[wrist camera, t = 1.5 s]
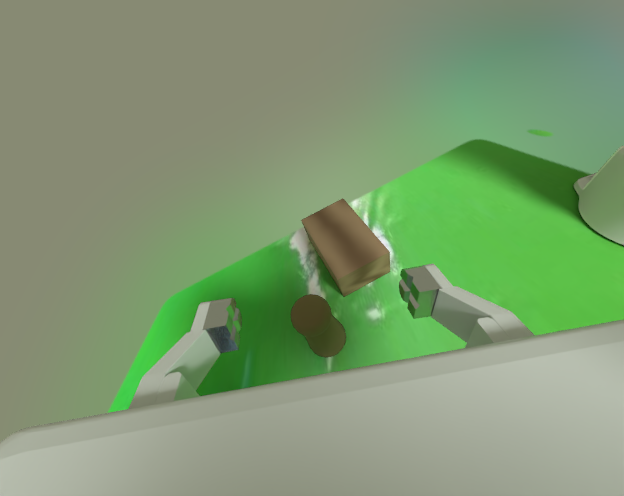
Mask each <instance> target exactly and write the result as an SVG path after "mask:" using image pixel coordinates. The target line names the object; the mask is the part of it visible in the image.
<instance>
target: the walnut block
mask: <svg viewBox="0 0 624 496" xmlns="http://www.w3.org/2000/svg"><path fill="white" fill-rule="evenodd" d="M302 223H303V225H304V228H305V230H306V232H307V234H308V237H309V239H310V241H311V242H312V244H313V246H314V247H315V249H316V251H317V252H318V254H319V256H320V258H321V259H322V261H323V263H324V264H325V266H326V268H327V269H328V271H329V273H330V274H331V276H332V278H333V279H334V281H335V283H336V284H337V286H338V288H339V289H340V291H341V293H342V295H343V296H344V297H345V296H347V295H348V294H350V293H352V292H354V291H356V290H358V289H359V288H361V287H363V286H365V285H367V284H369V283H370V282H372V281H374V280H376V279H378V278H380V277H381V276H383V275H385V274H387V273H389V272H390V252H389V251H388V250H387V248H386V247H385V246H384V245H383V244H382V243H381V242H380V240H379V239H378V238H377V237H376V236H375V235H374V233H373V232H372V231H371V230H370V229H369V228H368V227H367V225H366V224H365V223H364V222H363V221H362V220H361V218H360V217H359V216H358V215H357V214H356V213H355V212H354V210H353V209H352V208H351V207H350V206H349V205H348V203H347V202H346V201H345V200H344V199H341V200H339V201H337V202H335V203H333V204H331V205H330V206H327V207H326V208H324V209H322V210H320V211H318V212H316V213H314V214H312V215H310V216H308V217H306V218H304V219H302Z"/></svg>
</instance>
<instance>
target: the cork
mask: <svg viewBox="0 0 624 496" xmlns="http://www.w3.org/2000/svg"><path fill="white" fill-rule="evenodd" d="M291 321H292V324H293V326H294V328H295V329H296V330H297V331H298V332H299V333H301V334H302V335H304V336H305V337H306V339H307V341H308V343H309V346H310V348H311V349H312V351H313V352H314V353H315V354H317V355H319V356H321V357H331V356H334V355H336V354H338V353H339V352H340V351H341V349H342V348H343V346H344V344H345V340H346V333H345V329H344V328H343V326H342V324H341V323H340V322H339V321H337V320H336V319H335V318H334V317H333V316H332V314H331V308H330V306H329V304H328V303H327V301H326V300H325V299H323V298H322V297H320V296H318V295H313V294H310V295H305V296H303V297H301V298H299V299H298V300H297V301H296V302H295V304H294V306H293V307H292V310H291Z"/></svg>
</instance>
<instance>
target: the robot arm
mask: <svg viewBox="0 0 624 496" xmlns="http://www.w3.org/2000/svg"><path fill="white" fill-rule="evenodd" d="M574 189H575V190H576V192H577V194H578V195H579V212H580V214H581V216H582V218H583V219H584V220H585V222H586V223H587V224H588V225H589V226H590V227H591V228H593V229H594V230H595V231H597V232H598V233H600V234H601V235H603V236H605V237H606V238H608V239H610V240H612V241H615V242H617V243H619V244H622V245H624V146H622V147H620V148H619V149H618V150H617V151H616V152H615V153H614V154H613V155H612V156H611V157H610V158H609V159H608V161H607V162H606V163H605V164H604V165H603V166H602V167H601V169H600V170H599V171H598V172H597V173H595V174H592V175H589V176H586V177H583V178H580V179H578V180H577V181H576V182H575V184H574ZM400 276H401V277H402V280H401V281H400V282H399V291H400V294H401V297H402V299H403V301H405V302H407V303H408V310H409V311H410V313H411V315H412V317H413V318H414V319H416V318H422V317H429V316H431V317H432V318H433V319H435V320H436V321H438V322H439V323H440V324H442V325H443V326H445V327H446V328H447V329H449V330H450V331H451V332H453V333H454V334H456V335H457V336H458V337H460V338H461V339H463V340H464V341H465V342H467V344H466V347H465V348H463V349H458V350H452V351H447V352H441V353H436V354H430V355H425V356H419V357H414V358H408V359H403V360H397V361H392V362H386V363H381V364H375V365H370V366H365V367H359V368H354V369H348V370H343V371H337V372H331V373H326V374H320V375H315V376H309V377H304V378H298V379H293V380H287V381H282V382H276V383H271V384H265V385H260V386H254V387H249V388H243V389H238V390H232V391H227V392H221V393H216V394H210V395H205V396H200V395H199V394H198V393H197V392H196V390H197V388H198V387H199V385H200V384H201V382H202V381H203V379H204V378H205V376H206V375H207V373H208V372H209V371H210V369H211V368H212V366H213V365H214V363H215V362H216V360H217V359H218V357H219V356H220V353H224V352H229V351H234V350H239V343H240V335H239V333H238V332H239V331H240V330H241V327H242V317H241V313H240V310H239V309H238V308H236V301H235V299H234V298H229V299H222V300H215V301H210V302H202V303H200V304H199V306H198V309H197V312H196V315H195V318H194V321H193V324H192V327H191V331H190V332H188V333H186V334H185V335H184V336H183V337H182V338H181V339H180V340H179V341H178V342H177V343H176V344H175V345H174V346H173V347H172V348H171V349H170V350H169V351H168V352H167V353H166V354H165V355H164V356H163V357H162V358H161V359H160V360H159V361H158V362H157V363H156V364H155V365H154V366H153V367H152V368H151V369H150V370H149V371H148V372H147V373H146V374H145V375H144V376H143V377H142V379H141V381H140V384H139V386H138V388H137V391H136V393H135V395H134V398H133V400H132V402H131V404H130V407H129V409H127V410H122V411H116V412H111V413H105V414H100V415H94V416H89V417H84V418H78V419H72V420H67V421H61V422H56V423H50V424H44V425H38V426H32V427H28V428H24V429H21V430H19V431H16V432H14V433H13V434H11V435H9V436H8V437H7V438H5V439H4V440H2V441H1V442H0V496H624V320H618V321H612V322H606V323H601V324H595V325H590V326H585V327H579V328H574V329H568V330H563V331H557V332H552V333H546V334H541V335H534V334H533V333H532V332H531V331H530V330H529V329H528V328H527V327H526V326H525V325H524V324H523V323H522V322H521V321H520V320H519V319H518V318H517V317H516V316H515V315H514V314H513V313H512V312H511V311H508V310H506V309H504V308H502V307H500V306H498V305H496V304H493V303H491V302H489V301H487V300H485V299H483V298H481V297H478V296H476V295H474V294H472V293H470V292H468V291H466V290H463V289H461V288H459V287H457V286H455V287H453V286H452V284H451V283H450V282H449V281H448V280H447V278H446V277H445V276H444V275H443V274H442V273H441V271H440V270H439V269H438V268H437V267H436V265H434V264H429V265H423V266H418V267H412V268H406V269H402V270H401V274H400Z"/></svg>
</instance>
